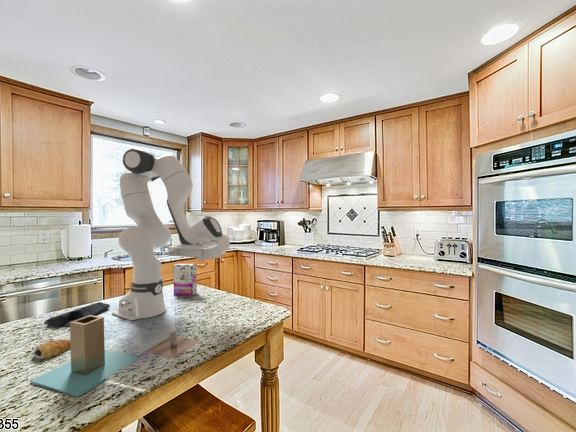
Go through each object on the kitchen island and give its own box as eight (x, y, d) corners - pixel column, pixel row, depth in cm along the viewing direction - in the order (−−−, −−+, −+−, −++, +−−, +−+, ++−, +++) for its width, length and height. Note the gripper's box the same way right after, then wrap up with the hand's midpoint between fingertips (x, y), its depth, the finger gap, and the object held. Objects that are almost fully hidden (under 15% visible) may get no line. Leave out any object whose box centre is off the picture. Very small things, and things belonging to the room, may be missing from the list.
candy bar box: (197, 293, 150) (196, 263, 150) (192, 296, 145) (192, 265, 145) (178, 292, 152) (178, 262, 151) (173, 295, 147) (172, 264, 147)
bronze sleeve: (71, 371, 77) (69, 322, 76) (91, 361, 82) (90, 315, 81) (85, 375, 75) (84, 325, 74) (104, 364, 80) (103, 317, 80)
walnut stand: (144, 353, 87) (144, 336, 87) (171, 337, 98) (171, 321, 98) (175, 360, 83) (175, 342, 83) (199, 341, 95) (199, 325, 95)
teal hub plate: (30, 383, 73) (29, 365, 72) (96, 349, 90) (96, 335, 90) (77, 397, 67) (77, 378, 67) (139, 359, 84) (138, 343, 84)
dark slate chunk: (116, 309, 127) (115, 299, 127) (66, 330, 106) (66, 317, 106) (90, 306, 131) (90, 297, 131) (38, 325, 110) (37, 314, 110)
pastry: (65, 343, 94) (64, 333, 94) (77, 347, 92) (77, 336, 92) (30, 357, 86) (30, 345, 86) (43, 362, 83) (43, 350, 83)
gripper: (181, 240, 114) (156, 244, 101) (224, 242, 108) (203, 246, 95) (181, 255, 114) (156, 261, 101) (224, 258, 108) (203, 264, 95)
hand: (179, 254), depth 98 cm, fingers open, 8 cm apart
